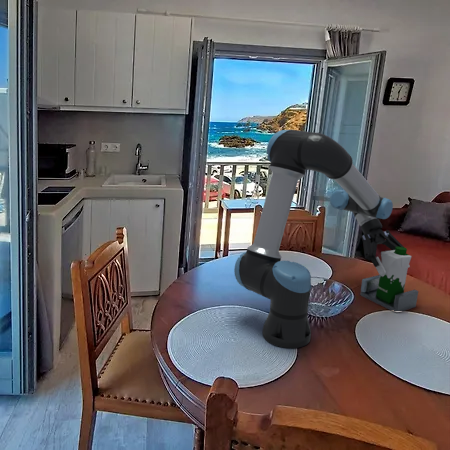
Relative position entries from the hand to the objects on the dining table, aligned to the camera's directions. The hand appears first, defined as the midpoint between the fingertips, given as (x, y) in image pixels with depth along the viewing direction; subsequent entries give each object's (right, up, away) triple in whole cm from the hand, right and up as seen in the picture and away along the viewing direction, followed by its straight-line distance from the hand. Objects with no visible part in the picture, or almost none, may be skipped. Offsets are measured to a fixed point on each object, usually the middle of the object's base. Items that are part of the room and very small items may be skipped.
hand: (395, 271), depth 164 cm
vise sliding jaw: (-5, -8, +10) cm, 14 cm away
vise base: (-1, -12, +4) cm, 13 cm away
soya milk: (-1, -11, +3) cm, 11 cm away
